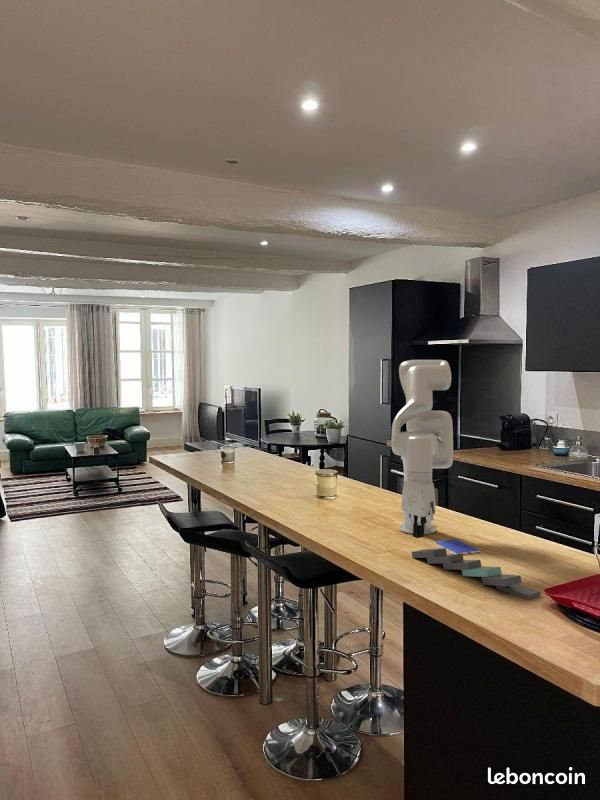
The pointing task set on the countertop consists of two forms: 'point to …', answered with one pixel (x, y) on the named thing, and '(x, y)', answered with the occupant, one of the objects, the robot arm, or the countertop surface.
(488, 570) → the tile
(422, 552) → the tile
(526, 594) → the tile
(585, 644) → the countertop surface
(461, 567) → the tile
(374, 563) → the countertop surface
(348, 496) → the countertop surface
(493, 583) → the tile
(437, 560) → the tile
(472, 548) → the hard drive
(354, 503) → the countertop surface
